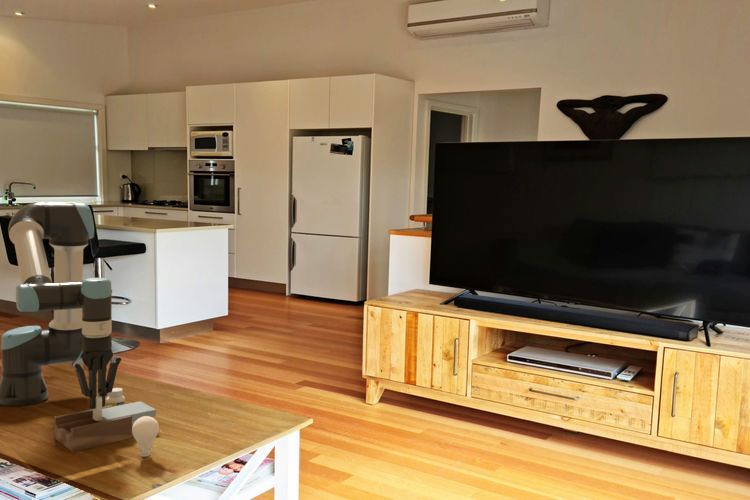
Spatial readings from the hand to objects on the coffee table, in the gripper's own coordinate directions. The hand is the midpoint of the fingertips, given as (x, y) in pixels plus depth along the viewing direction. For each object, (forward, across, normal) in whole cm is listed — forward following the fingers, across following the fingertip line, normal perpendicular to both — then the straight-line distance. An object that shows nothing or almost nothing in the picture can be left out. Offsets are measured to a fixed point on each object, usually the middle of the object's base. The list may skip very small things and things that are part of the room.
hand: (97, 419), depth 188 cm
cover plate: (+1, +8, 0) cm, 8 cm away
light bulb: (+6, +4, -20) cm, 21 cm away
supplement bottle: (+6, +10, +12) cm, 17 cm away
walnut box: (+6, -1, 0) cm, 6 cm away
